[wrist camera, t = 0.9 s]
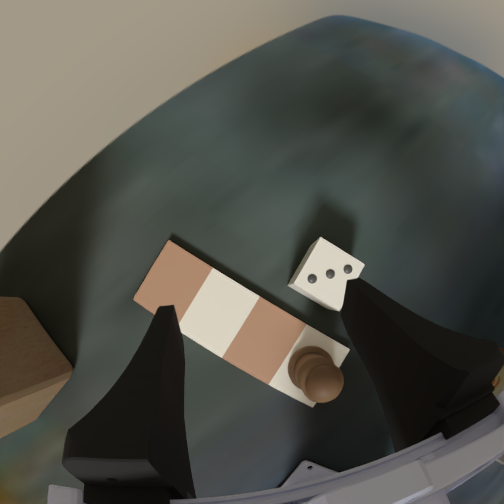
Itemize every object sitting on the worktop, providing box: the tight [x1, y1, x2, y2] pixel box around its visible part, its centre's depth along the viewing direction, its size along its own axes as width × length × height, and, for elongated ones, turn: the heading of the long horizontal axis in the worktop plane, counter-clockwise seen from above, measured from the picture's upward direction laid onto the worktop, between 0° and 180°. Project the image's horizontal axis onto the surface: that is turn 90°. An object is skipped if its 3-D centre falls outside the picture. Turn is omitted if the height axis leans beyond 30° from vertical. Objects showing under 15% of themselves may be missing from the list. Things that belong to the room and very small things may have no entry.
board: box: [133, 240, 350, 408], centre depth 26 cm, size 18×6×1 cm, turn 59°
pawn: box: [288, 346, 344, 403], centre depth 22 cm, size 4×4×6 cm
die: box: [288, 237, 365, 311], centre depth 25 cm, size 4×4×4 cm
